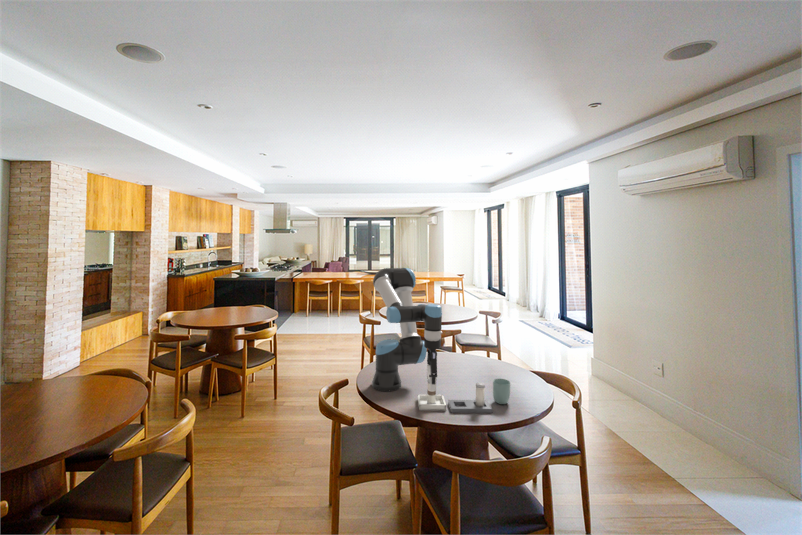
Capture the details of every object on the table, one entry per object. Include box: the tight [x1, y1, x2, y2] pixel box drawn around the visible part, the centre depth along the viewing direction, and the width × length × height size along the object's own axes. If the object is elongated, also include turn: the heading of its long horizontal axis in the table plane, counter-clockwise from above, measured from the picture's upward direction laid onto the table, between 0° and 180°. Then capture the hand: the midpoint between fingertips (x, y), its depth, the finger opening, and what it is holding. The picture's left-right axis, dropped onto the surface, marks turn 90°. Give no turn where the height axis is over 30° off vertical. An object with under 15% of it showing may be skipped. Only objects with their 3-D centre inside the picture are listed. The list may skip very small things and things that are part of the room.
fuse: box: [475, 382, 486, 407], centre depth 157 cm, size 4×4×11 cm
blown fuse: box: [426, 379, 437, 404], centre depth 160 cm, size 4×4×11 cm
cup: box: [492, 378, 511, 405], centre depth 163 cm, size 8×8×10 cm
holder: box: [448, 399, 494, 414], centre depth 157 cm, size 18×9×2 cm, turn 91°
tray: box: [417, 394, 447, 412], centre depth 160 cm, size 12×11×2 cm
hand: (431, 384), depth 160 cm, fingers open, 13 cm apart
